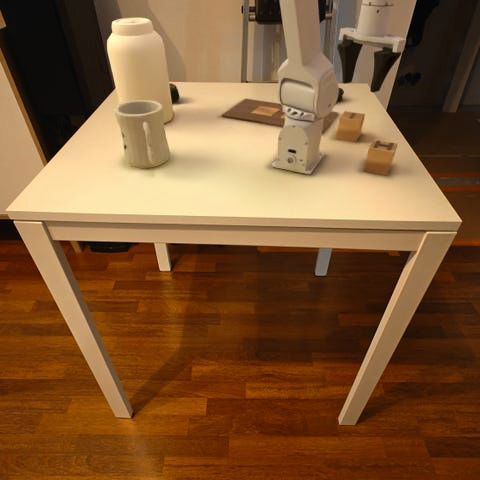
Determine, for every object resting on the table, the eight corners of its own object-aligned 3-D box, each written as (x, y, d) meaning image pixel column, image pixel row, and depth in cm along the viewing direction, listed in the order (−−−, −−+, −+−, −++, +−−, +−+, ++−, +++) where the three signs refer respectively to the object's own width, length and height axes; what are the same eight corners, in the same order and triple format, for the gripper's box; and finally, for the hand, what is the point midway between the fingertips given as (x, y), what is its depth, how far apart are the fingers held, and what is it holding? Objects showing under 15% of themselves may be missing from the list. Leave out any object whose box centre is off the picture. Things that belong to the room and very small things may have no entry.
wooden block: (386, 175, 68) (394, 151, 65) (363, 171, 70) (369, 147, 66) (391, 166, 71) (398, 142, 68) (368, 161, 72) (374, 138, 69)
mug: (123, 153, 76) (110, 102, 69) (165, 147, 78) (157, 96, 71) (132, 180, 68) (119, 125, 60) (179, 172, 70) (172, 118, 63)
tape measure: (155, 106, 97) (152, 90, 94) (153, 98, 102) (151, 83, 99) (180, 104, 98) (178, 88, 95) (177, 96, 103) (176, 81, 100)
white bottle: (136, 132, 84) (114, 27, 70) (115, 117, 91) (91, 18, 77) (183, 120, 89) (171, 20, 75) (159, 107, 96) (145, 13, 82)
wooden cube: (355, 142, 79) (360, 120, 76) (335, 138, 81) (339, 116, 77) (360, 134, 82) (365, 113, 79) (341, 131, 84) (345, 110, 80)
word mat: (321, 133, 83) (321, 131, 82) (221, 116, 91) (221, 114, 90) (337, 114, 91) (337, 111, 91) (245, 100, 100) (245, 98, 99)
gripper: (425, 6, 63) (401, 91, 73) (362, -2, 72) (348, 75, 81) (400, 10, 60) (378, 98, 70) (337, 1, 69) (325, 81, 78)
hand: (360, 86), depth 75 cm, fingers open, 7 cm apart
